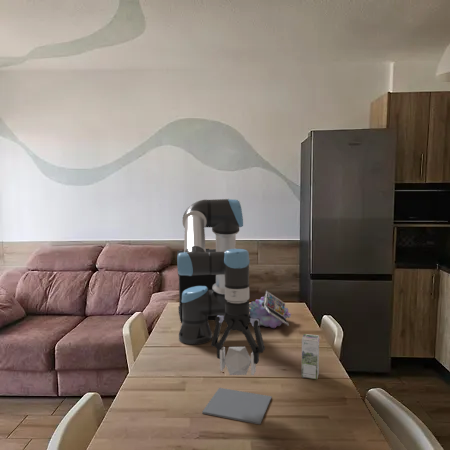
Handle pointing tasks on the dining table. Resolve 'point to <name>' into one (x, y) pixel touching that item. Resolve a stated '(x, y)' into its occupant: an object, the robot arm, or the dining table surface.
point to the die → (237, 360)
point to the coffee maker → (195, 284)
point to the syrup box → (310, 356)
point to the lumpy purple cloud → (269, 311)
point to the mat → (238, 405)
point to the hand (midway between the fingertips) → (237, 370)
